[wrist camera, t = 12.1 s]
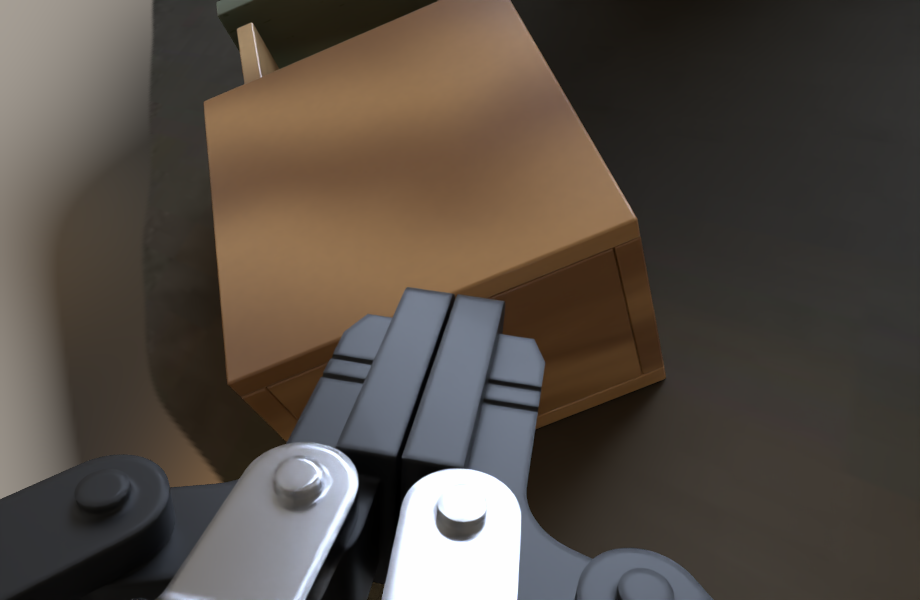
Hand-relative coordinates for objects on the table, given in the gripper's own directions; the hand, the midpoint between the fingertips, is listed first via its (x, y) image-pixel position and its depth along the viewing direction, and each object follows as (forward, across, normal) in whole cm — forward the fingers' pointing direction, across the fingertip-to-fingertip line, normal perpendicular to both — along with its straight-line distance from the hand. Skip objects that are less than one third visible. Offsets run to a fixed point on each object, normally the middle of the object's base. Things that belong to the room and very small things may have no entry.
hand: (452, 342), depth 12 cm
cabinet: (+17, +2, +11) cm, 21 cm away
